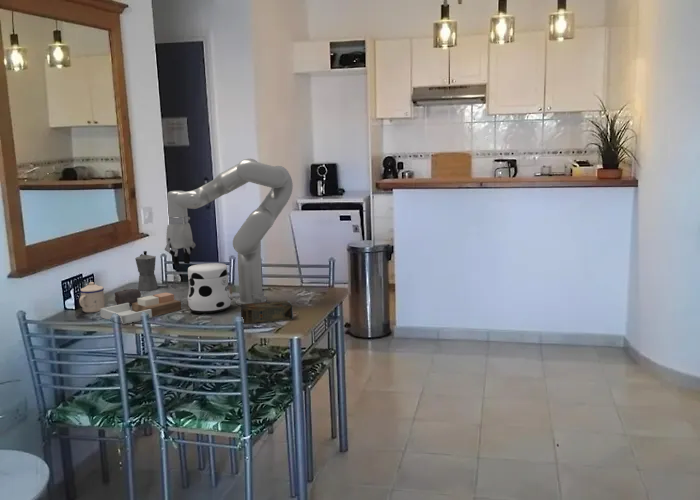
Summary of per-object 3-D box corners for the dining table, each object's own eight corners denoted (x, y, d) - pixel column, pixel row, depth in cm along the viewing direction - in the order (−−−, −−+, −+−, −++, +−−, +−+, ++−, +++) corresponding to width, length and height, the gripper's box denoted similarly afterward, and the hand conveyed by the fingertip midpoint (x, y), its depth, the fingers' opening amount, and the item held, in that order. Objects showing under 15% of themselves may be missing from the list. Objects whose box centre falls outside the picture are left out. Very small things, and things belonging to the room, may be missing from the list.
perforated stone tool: (136, 300, 286) (135, 284, 285) (146, 301, 284) (144, 285, 283) (111, 308, 272) (109, 292, 271) (121, 309, 270) (119, 293, 269)
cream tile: (159, 303, 264) (158, 297, 263) (145, 306, 259) (145, 300, 259) (151, 301, 268) (150, 295, 267) (137, 304, 263) (137, 298, 263)
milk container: (240, 308, 267) (238, 264, 265) (209, 317, 253) (206, 272, 250) (210, 303, 277) (208, 261, 274) (179, 312, 263) (175, 268, 260)
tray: (152, 318, 255) (151, 309, 255) (123, 325, 247) (122, 315, 246) (128, 311, 267) (128, 302, 267) (100, 317, 259) (99, 308, 258)
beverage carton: (293, 320, 247) (292, 303, 246) (242, 325, 243) (241, 308, 242) (290, 315, 255) (289, 298, 254) (240, 319, 251) (239, 302, 249)
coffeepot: (162, 289, 305) (159, 251, 302) (141, 292, 300) (138, 254, 297) (153, 284, 318) (150, 247, 315) (133, 286, 313) (130, 249, 310)
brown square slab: (181, 309, 267) (180, 301, 266) (150, 317, 257) (149, 308, 256) (162, 304, 276) (162, 296, 276) (132, 311, 266) (131, 303, 266)
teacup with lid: (92, 306, 276) (89, 279, 274) (110, 307, 273) (107, 280, 272) (72, 314, 265) (69, 285, 263) (90, 315, 262) (87, 286, 260)
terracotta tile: (174, 300, 269) (173, 294, 268) (161, 303, 264) (160, 297, 264) (166, 298, 273) (166, 292, 272) (153, 300, 268) (153, 295, 268)
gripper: (190, 218, 279) (193, 260, 282) (155, 222, 267) (158, 266, 270) (201, 219, 274) (203, 262, 277) (165, 223, 262) (168, 268, 265)
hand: (181, 263), depth 273 cm, fingers open, 4 cm apart
